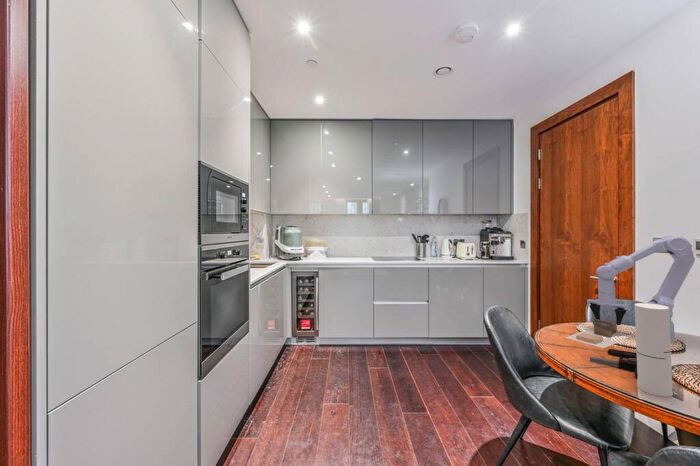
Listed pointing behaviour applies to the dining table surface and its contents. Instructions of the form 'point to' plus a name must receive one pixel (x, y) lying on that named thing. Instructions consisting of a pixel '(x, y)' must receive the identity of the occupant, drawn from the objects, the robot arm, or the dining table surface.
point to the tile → (589, 338)
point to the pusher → (604, 328)
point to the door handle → (621, 363)
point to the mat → (602, 344)
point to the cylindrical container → (653, 349)
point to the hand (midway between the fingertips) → (608, 322)
